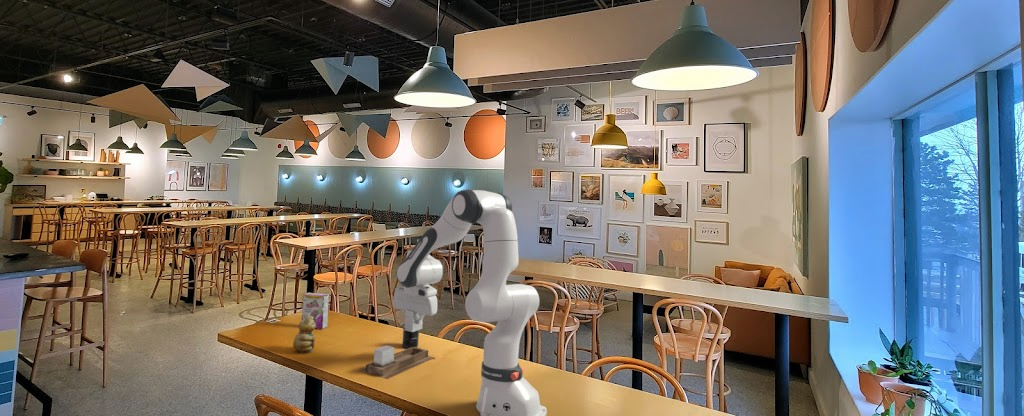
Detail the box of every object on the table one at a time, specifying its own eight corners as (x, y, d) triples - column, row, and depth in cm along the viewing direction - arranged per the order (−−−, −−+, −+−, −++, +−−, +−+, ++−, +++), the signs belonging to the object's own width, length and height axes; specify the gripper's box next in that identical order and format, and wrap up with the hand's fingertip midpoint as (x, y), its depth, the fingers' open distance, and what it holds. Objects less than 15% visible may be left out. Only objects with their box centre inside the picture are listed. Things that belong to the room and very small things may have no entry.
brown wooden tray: (434, 361, 184) (435, 351, 184) (387, 383, 160) (387, 371, 160) (407, 354, 191) (408, 344, 190) (358, 374, 167) (358, 363, 167)
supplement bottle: (414, 349, 197) (415, 322, 197) (399, 348, 198) (400, 320, 198) (420, 345, 204) (421, 318, 203) (406, 343, 205) (407, 316, 205)
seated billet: (393, 368, 170) (394, 347, 170) (381, 373, 165) (382, 351, 165) (385, 366, 172) (386, 345, 172) (373, 371, 167) (374, 349, 166)
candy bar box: (300, 328, 221) (302, 294, 221) (306, 325, 226) (308, 292, 226) (322, 329, 220) (323, 295, 219) (328, 327, 225) (329, 293, 224)
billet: (422, 328, 184) (423, 308, 184) (412, 332, 179) (413, 311, 179) (414, 326, 186) (415, 307, 186) (404, 330, 181) (405, 310, 181)
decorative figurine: (315, 353, 186) (316, 317, 186) (292, 355, 183) (294, 318, 183) (314, 346, 195) (315, 311, 195) (292, 348, 192) (294, 312, 191)
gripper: (390, 286, 184) (388, 320, 184) (430, 293, 175) (428, 329, 175) (400, 283, 190) (399, 316, 190) (440, 290, 180) (438, 325, 180)
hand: (413, 322), depth 182 cm, fingers closed on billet, 4 cm apart
